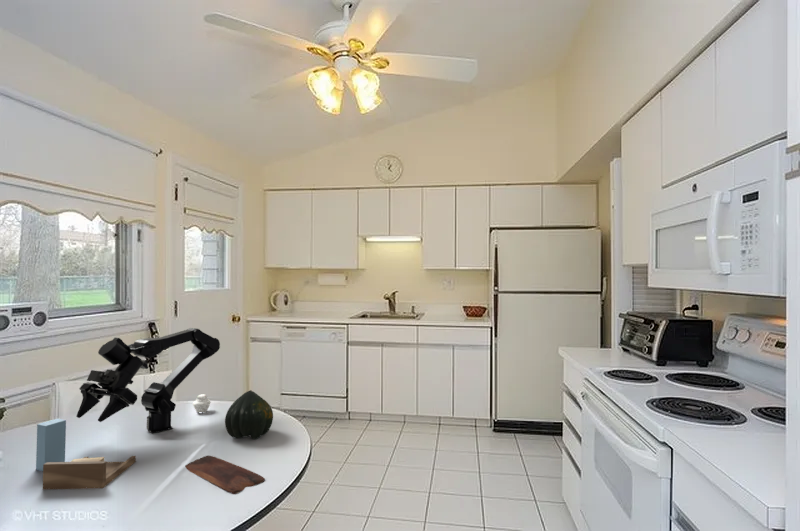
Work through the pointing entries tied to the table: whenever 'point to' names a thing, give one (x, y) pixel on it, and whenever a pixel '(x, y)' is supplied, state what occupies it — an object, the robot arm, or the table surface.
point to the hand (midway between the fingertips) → (88, 419)
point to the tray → (82, 473)
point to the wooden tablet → (224, 474)
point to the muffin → (201, 403)
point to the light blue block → (50, 442)
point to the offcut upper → (88, 459)
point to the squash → (249, 416)
